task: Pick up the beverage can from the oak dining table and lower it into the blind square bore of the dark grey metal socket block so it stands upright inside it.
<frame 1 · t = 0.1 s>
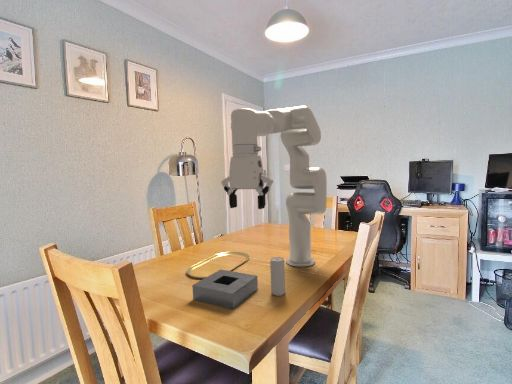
hand: (247, 208, 88), 31 cm above the table, tool pointing down, fingers open, 9 cm apart
gold oval ring: (220, 266, 130), on the table
socket block: (226, 294, 100), on the table
beverage can: (278, 293, 99), on the table
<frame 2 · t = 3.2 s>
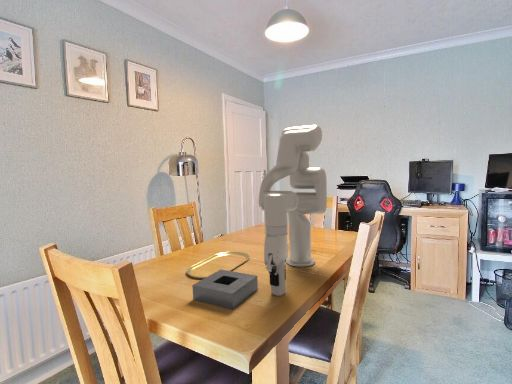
hand: (278, 281, 99), 4 cm above the table, tool pointing down, fingers closed on beverage can, 4 cm apart
beverage can: (278, 293, 99), on the table, touching gripper
everything else where it was.
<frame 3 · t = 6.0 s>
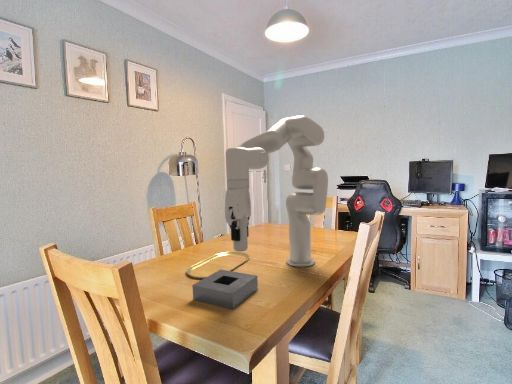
hand: (240, 238, 98), 20 cm above the table, tool pointing down, fingers closed on beverage can, 4 cm apart
beverage can: (240, 250, 98), point 15 cm above the table, touching gripper
everything else where it was.
when the fingers open (7 cm above the table, at t = 9.1 s): beverage can drops 2 cm, resting on socket block.
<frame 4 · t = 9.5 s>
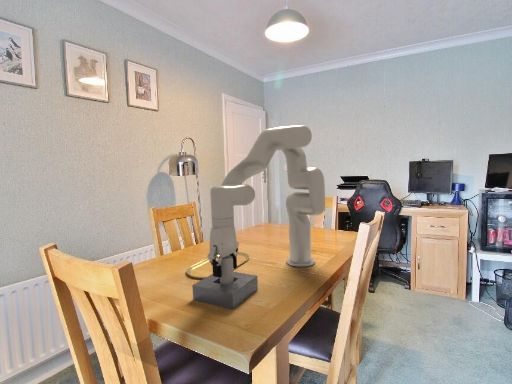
hand: (225, 271, 99), 8 cm above the table, tool pointing down, fingers open, 8 cm apart
beverage can: (227, 291, 100), point 1 cm above the table, touching socket block
everything else where it was.
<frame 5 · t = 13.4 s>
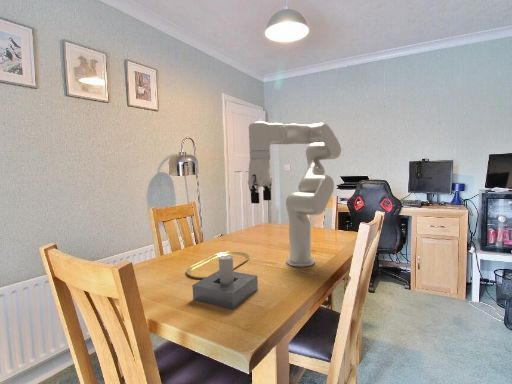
hand: (261, 201, 109), 30 cm above the table, tool pointing down, fingers open, 9 cm apart
nothing on the table moved.
at the end: beverage can 0.4 cm off-centre on the socket block, point 0.8 cm above the socket block's base; beverage can tilted 0°; the gripper is holding nothing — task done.
